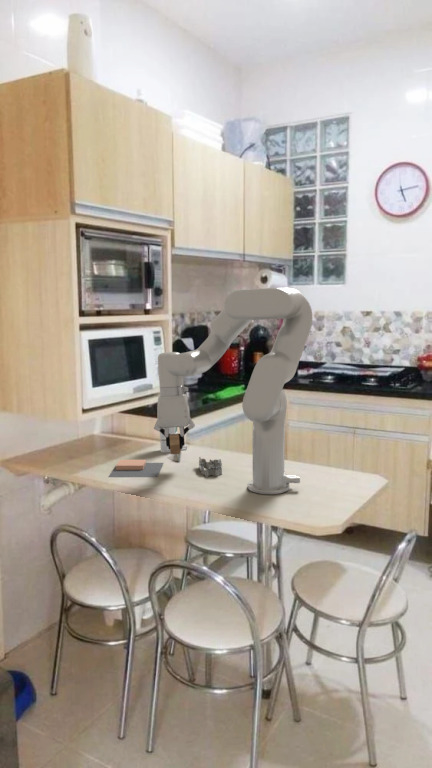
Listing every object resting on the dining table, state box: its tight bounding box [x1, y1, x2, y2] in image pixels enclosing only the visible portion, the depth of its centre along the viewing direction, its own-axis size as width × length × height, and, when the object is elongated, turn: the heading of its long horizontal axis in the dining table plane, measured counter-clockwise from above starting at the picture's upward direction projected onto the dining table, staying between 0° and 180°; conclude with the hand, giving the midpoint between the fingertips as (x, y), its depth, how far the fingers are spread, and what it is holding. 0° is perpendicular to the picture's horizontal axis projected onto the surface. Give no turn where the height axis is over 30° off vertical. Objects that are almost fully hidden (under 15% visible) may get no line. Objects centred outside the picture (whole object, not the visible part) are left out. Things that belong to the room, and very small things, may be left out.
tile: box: [115, 459, 147, 470], centre depth 201 cm, size 2×7×9 cm
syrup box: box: [159, 427, 179, 453], centre depth 221 cm, size 6×6×14 cm
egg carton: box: [198, 456, 223, 477], centre depth 196 cm, size 11×8×4 cm
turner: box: [168, 433, 189, 455], centre depth 193 cm, size 12×6×6 cm, turn 178°
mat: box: [107, 462, 164, 478], centre depth 198 cm, size 16×16×1 cm
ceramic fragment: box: [167, 452, 182, 463], centre depth 213 cm, size 14×5×4 cm, turn 1°
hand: (175, 447), depth 189 cm, fingers closed on turner, 3 cm apart
